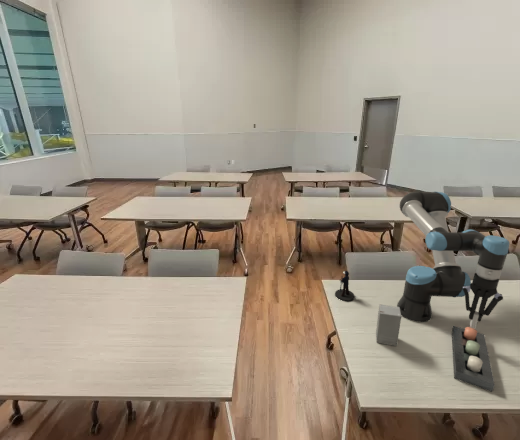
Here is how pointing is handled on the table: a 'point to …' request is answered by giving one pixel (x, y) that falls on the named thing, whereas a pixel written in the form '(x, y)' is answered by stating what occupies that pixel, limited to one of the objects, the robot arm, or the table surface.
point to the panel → (461, 359)
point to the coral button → (470, 333)
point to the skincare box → (388, 324)
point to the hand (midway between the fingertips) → (472, 326)
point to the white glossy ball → (474, 363)
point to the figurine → (342, 293)
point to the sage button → (472, 347)
